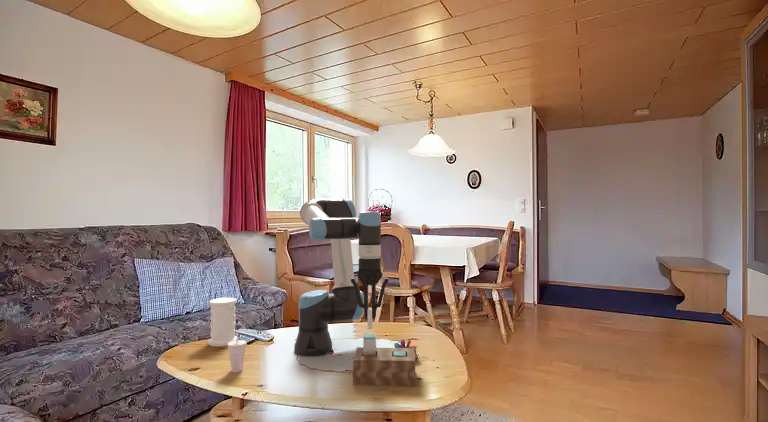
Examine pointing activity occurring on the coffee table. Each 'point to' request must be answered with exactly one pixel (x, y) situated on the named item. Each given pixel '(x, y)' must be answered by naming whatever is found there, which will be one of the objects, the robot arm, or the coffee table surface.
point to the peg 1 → (369, 345)
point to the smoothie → (237, 354)
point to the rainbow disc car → (406, 346)
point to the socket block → (384, 368)
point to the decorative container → (222, 321)
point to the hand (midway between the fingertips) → (370, 328)
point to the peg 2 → (399, 354)
